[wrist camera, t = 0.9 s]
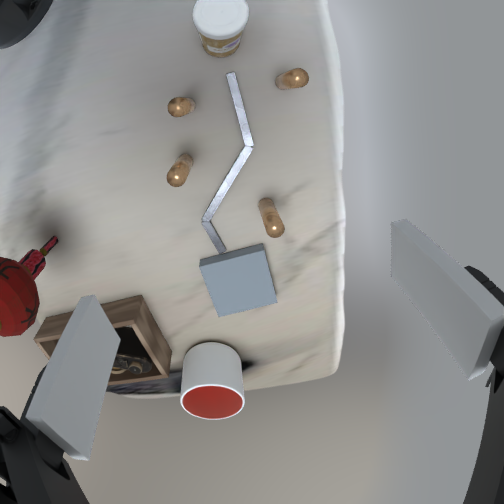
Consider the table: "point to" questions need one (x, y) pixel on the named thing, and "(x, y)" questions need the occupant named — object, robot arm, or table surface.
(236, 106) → the wire course
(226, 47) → the sprinkles bottle
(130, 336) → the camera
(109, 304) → the camera corral
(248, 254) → the pad
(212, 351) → the cup
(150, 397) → the table surface
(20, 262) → the lantern
